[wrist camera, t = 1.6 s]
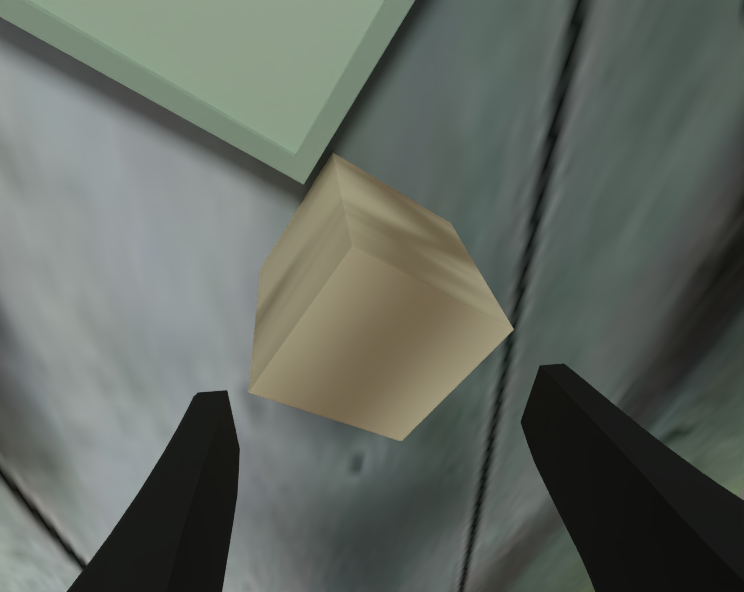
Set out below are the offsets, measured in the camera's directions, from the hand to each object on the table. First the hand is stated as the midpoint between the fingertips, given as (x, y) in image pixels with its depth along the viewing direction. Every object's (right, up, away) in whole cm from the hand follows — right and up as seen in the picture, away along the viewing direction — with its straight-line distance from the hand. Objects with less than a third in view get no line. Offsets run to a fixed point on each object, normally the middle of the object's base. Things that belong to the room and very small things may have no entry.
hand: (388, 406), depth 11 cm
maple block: (-1, +4, +6) cm, 8 cm away
